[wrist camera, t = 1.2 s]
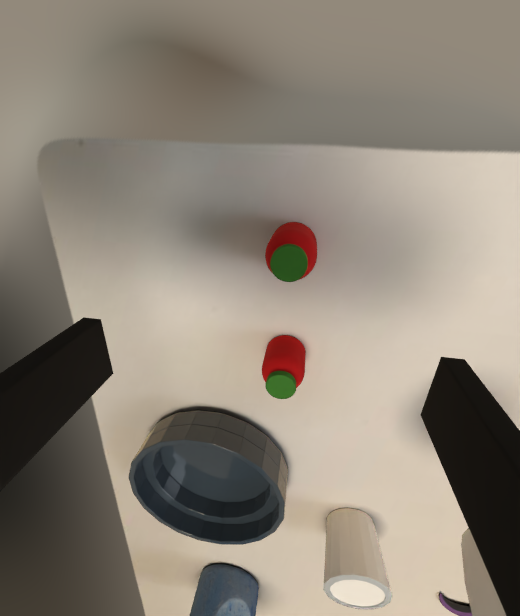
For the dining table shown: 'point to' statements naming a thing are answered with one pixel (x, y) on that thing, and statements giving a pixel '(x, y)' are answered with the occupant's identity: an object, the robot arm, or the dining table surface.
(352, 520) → the beige short cylinder
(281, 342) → the strawberry
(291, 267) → the strawberry
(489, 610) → the cup
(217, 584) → the bottle
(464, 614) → the knife
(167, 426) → the bowl
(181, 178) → the dining table surface
